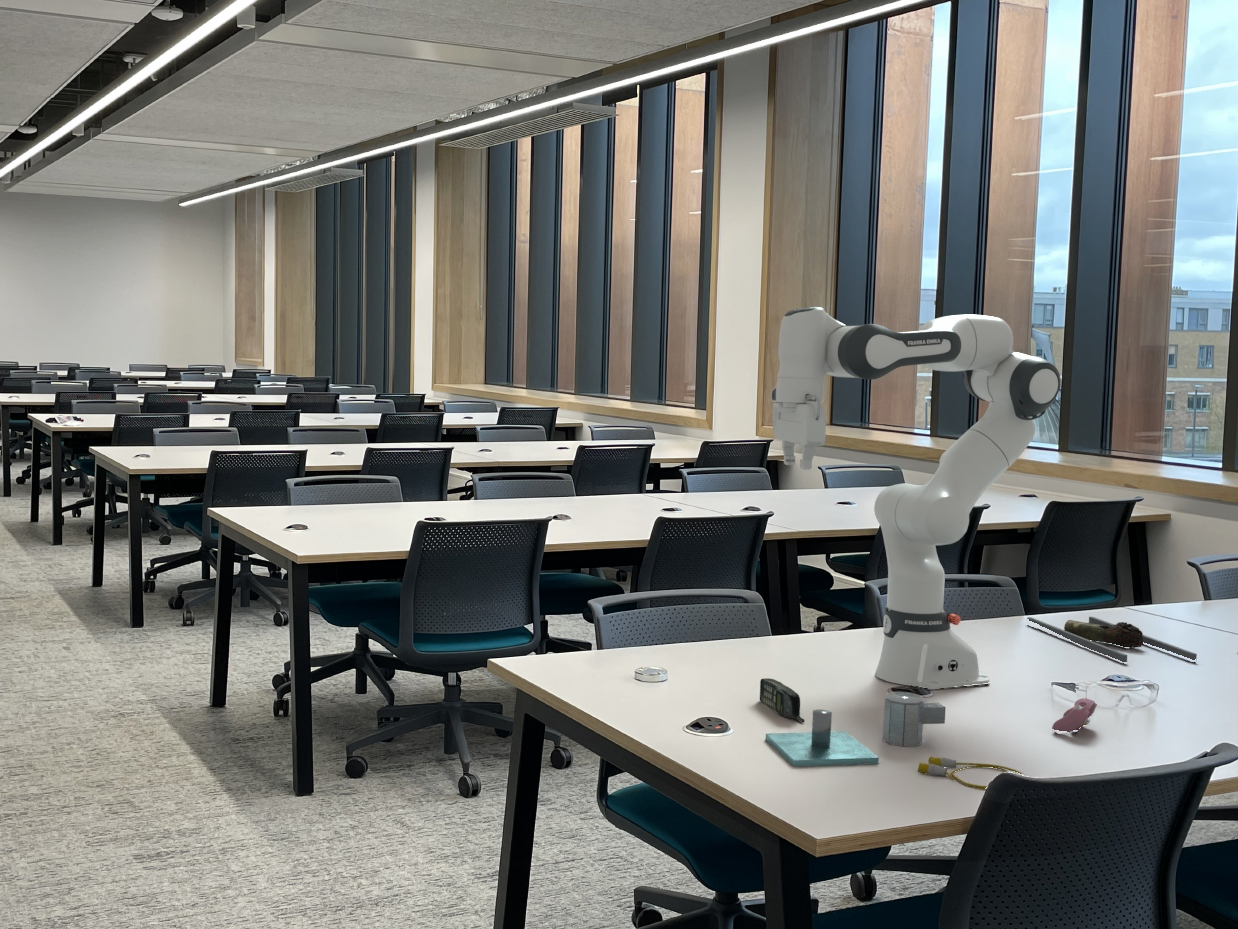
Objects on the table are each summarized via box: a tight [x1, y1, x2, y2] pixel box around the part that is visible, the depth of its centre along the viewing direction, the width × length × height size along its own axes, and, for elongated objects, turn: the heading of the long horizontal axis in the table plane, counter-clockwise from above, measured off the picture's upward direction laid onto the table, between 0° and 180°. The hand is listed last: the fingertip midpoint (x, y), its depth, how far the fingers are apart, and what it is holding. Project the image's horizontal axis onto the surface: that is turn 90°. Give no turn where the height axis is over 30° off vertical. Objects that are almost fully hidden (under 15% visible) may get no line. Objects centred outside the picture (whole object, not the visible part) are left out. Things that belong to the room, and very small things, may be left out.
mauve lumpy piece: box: [1051, 697, 1098, 733], centre depth 217 cm, size 10×5×7 cm, turn 148°
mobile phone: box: [759, 678, 806, 723], centre depth 223 cm, size 5×3×15 cm
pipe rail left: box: [1026, 616, 1128, 663], centre depth 289 cm, size 1×40×2 cm, turn 11°
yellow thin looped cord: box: [917, 755, 1024, 791], centre depth 191 cm, size 12×16×2 cm
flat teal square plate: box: [765, 708, 880, 767], centre depth 200 cm, size 14×14×6 cm
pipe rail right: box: [1088, 616, 1198, 660], centre depth 292 cm, size 1×40×2 cm, turn 11°
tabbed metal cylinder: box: [882, 691, 946, 747], centre depth 208 cm, size 10×6×8 cm, turn 101°
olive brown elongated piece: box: [1063, 619, 1144, 648], centre depth 290 cm, size 18×7×6 cm, turn 45°
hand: (797, 467), depth 233 cm, fingers open, 8 cm apart
